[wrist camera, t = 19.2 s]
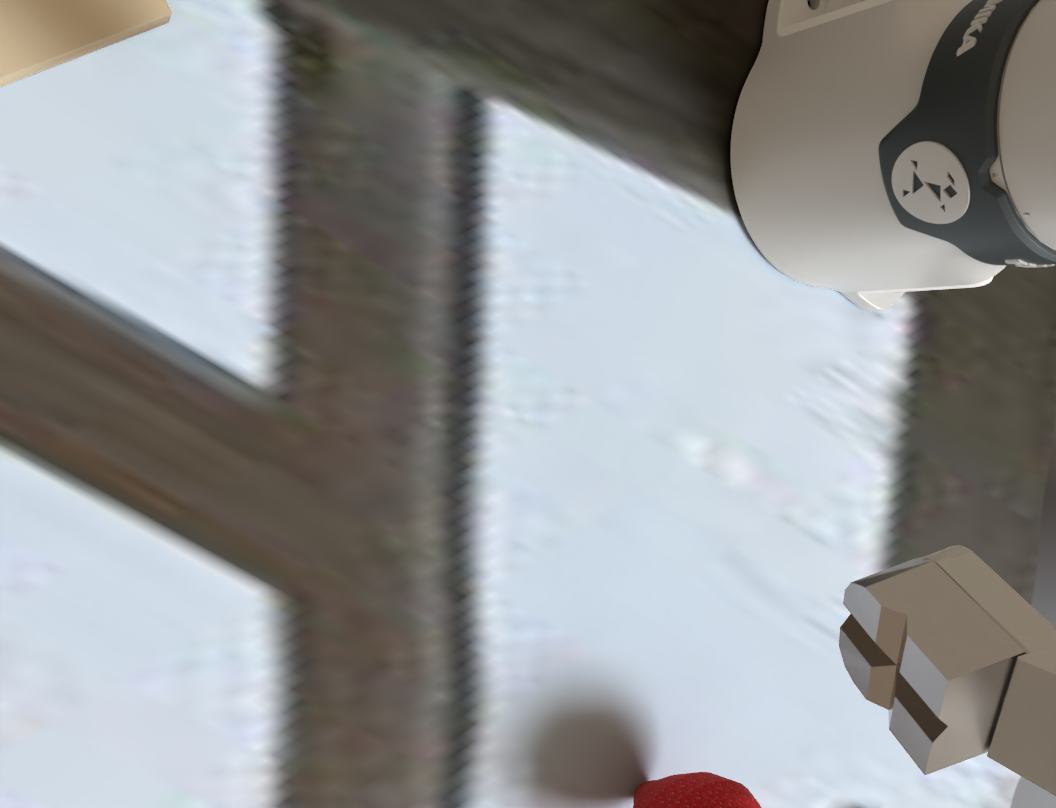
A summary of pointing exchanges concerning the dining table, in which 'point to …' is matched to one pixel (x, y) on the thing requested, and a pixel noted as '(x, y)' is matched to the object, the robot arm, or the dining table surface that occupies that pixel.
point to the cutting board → (67, 30)
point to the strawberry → (694, 793)
